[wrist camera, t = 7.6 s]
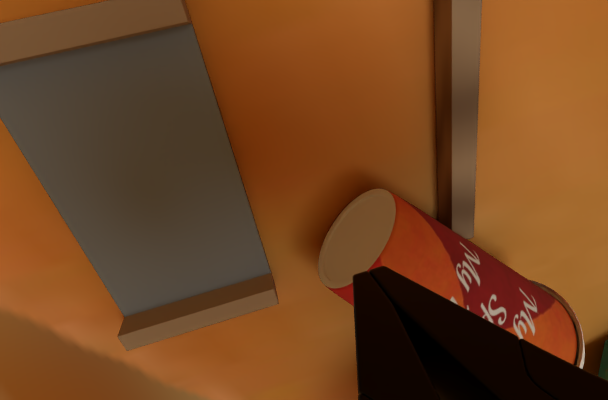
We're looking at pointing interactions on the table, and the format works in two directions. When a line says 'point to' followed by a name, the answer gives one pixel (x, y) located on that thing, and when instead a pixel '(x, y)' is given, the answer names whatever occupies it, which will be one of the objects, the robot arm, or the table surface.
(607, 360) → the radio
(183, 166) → the mat
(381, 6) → the table surface
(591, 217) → the table surface
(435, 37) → the strip
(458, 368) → the robot arm
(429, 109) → the table surface
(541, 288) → the coffee cup
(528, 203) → the table surface
